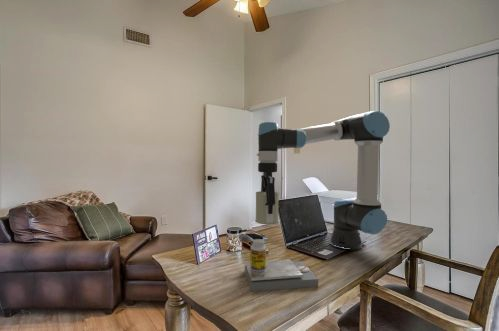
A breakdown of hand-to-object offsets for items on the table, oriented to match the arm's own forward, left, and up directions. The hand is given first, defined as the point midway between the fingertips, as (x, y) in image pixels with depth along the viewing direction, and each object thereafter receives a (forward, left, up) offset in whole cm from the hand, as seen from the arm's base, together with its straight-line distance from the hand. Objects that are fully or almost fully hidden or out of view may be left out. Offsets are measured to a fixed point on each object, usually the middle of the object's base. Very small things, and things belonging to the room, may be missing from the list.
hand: (267, 219), depth 99 cm
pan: (0, +10, -16) cm, 19 cm away
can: (0, 0, -1) cm, 1 cm away
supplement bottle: (+6, +10, -16) cm, 19 cm away
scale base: (-2, +10, -19) cm, 22 cm away
